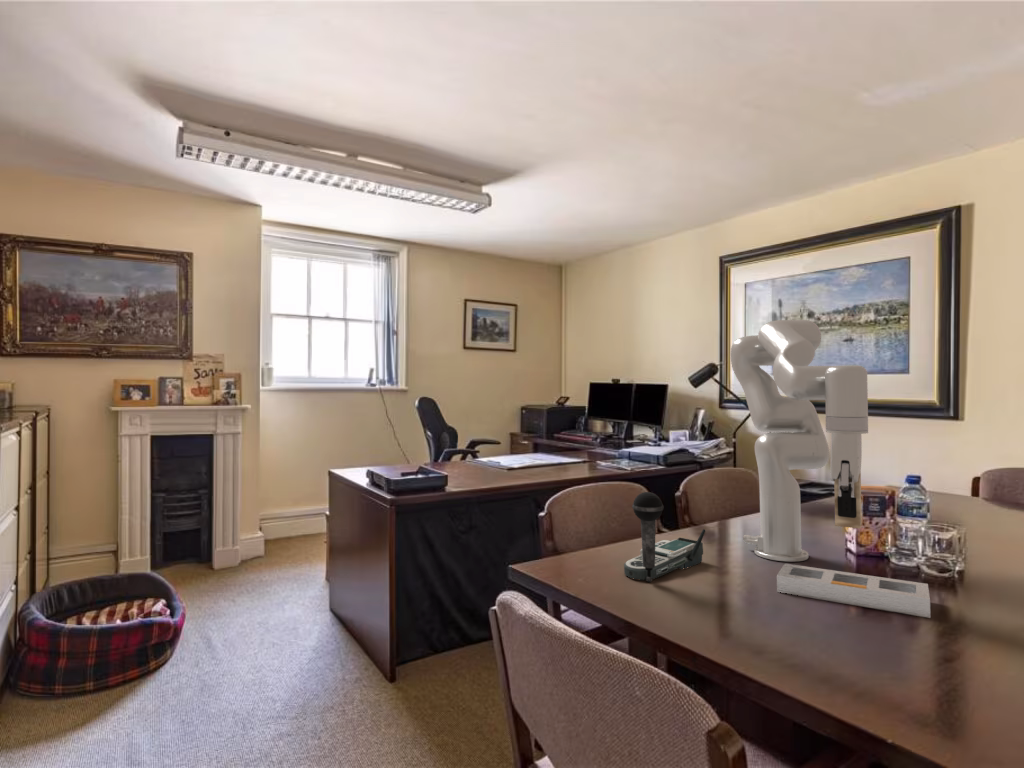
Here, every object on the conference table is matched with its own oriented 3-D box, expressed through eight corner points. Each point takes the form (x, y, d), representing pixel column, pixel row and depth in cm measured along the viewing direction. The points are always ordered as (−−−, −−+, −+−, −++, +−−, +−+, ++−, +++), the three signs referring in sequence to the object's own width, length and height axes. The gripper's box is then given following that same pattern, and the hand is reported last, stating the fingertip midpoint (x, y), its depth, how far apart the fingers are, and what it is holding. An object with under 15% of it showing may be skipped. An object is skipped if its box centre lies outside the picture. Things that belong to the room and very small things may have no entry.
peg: (835, 525, 116) (834, 471, 116) (837, 521, 120) (836, 469, 120) (860, 528, 113) (859, 473, 114) (861, 524, 117) (860, 470, 117)
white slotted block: (777, 592, 119) (776, 574, 119) (785, 579, 128) (784, 562, 128) (930, 618, 105) (929, 597, 105) (928, 601, 113) (927, 582, 113)
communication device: (608, 575, 134) (607, 537, 134) (668, 555, 149) (667, 521, 149) (650, 587, 125) (649, 547, 125) (709, 564, 140) (708, 528, 140)
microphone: (667, 579, 128) (665, 490, 129) (662, 588, 122) (660, 495, 123) (637, 575, 131) (635, 489, 132) (630, 584, 125) (628, 493, 125)
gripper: (830, 422, 126) (831, 505, 126) (821, 427, 112) (822, 520, 112) (870, 423, 121) (871, 509, 121) (865, 428, 108) (867, 525, 107)
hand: (848, 513), depth 117 cm, fingers closed on peg, 4 cm apart
